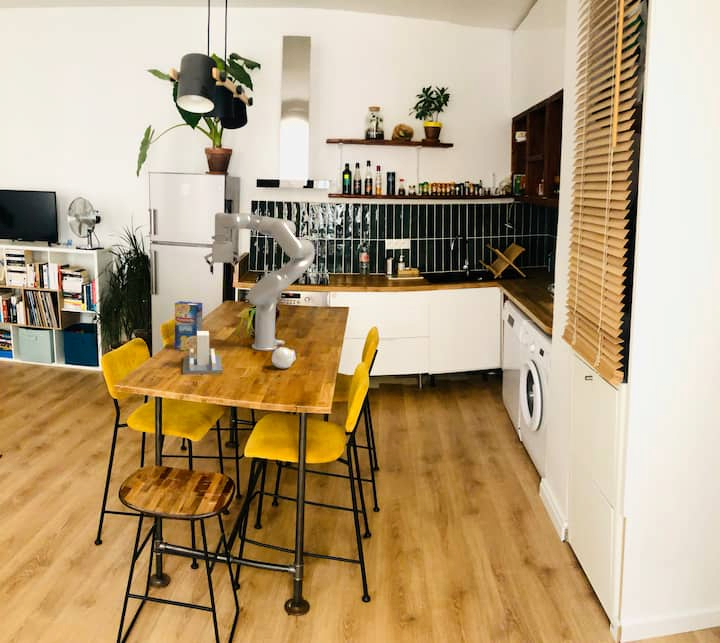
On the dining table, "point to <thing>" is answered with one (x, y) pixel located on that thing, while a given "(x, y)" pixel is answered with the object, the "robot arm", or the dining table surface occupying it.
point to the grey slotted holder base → (193, 368)
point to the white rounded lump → (283, 357)
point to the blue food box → (187, 324)
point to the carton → (202, 347)
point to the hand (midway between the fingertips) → (222, 274)
